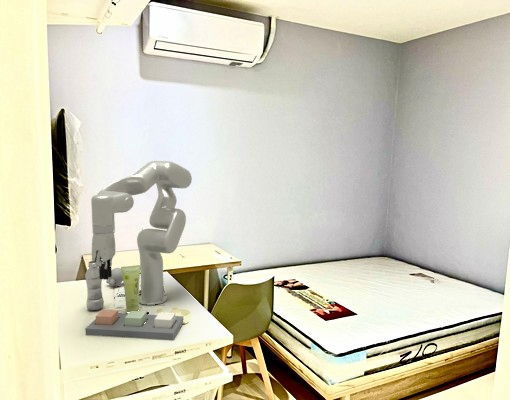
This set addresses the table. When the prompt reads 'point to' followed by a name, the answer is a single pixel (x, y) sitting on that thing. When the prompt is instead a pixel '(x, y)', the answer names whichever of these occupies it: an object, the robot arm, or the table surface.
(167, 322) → the offwhite button
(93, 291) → the plastic bottle
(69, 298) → the table surface
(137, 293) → the tube
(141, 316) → the sage button
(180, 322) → the panel
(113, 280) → the chubby cartoon animal
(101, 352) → the table surface
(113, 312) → the terracotta button
